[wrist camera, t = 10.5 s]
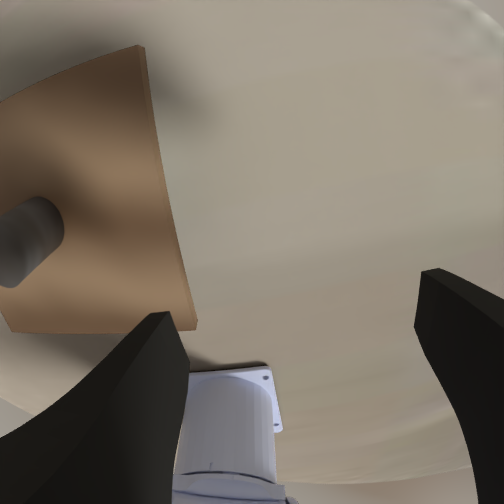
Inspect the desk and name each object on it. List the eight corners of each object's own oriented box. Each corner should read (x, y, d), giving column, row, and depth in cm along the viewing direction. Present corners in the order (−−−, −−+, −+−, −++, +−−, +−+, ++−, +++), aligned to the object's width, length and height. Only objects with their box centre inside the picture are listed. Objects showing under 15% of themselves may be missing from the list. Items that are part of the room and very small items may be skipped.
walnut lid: (197, 320, 16) (184, 383, 12) (17, 324, 17) (-14, 366, 13) (144, 47, 10) (98, 26, 6) (-46, 135, 11) (-97, 152, 7)
